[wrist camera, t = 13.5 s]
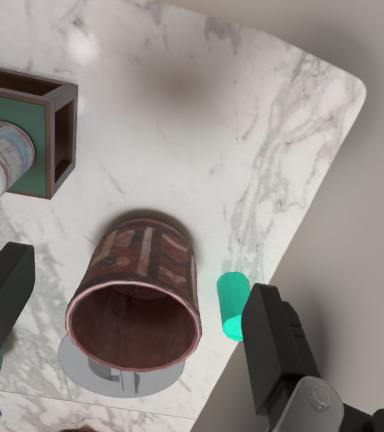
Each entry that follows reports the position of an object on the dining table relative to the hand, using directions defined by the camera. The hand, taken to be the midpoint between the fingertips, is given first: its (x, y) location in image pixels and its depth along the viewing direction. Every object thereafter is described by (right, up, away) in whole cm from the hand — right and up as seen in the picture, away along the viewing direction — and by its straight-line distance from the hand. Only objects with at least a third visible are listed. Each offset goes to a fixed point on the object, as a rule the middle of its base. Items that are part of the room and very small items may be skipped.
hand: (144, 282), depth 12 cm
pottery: (-6, -3, +46) cm, 46 cm away
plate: (-14, -30, +62) cm, 70 cm away
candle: (+9, -10, +51) cm, 52 cm away
